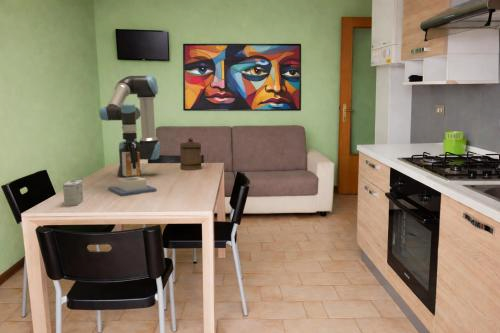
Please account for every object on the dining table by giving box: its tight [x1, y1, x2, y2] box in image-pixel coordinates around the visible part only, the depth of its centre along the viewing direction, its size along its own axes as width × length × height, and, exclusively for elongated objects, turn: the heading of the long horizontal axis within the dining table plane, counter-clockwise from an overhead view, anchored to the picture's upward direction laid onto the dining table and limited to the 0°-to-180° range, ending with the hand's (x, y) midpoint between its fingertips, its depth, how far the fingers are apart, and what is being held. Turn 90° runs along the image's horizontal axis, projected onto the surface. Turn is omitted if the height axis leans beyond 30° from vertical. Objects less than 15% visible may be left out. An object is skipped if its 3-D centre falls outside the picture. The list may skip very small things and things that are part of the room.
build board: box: [107, 176, 157, 197], centre depth 266 cm, size 20×20×6 cm
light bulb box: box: [62, 179, 84, 207], centre depth 237 cm, size 11×7×11 cm, turn 5°
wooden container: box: [179, 137, 202, 171], centre depth 339 cm, size 15×15×22 cm
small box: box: [122, 152, 141, 177], centre depth 264 cm, size 8×6×13 cm
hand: (131, 173), depth 265 cm, fingers closed on small box, 6 cm apart
